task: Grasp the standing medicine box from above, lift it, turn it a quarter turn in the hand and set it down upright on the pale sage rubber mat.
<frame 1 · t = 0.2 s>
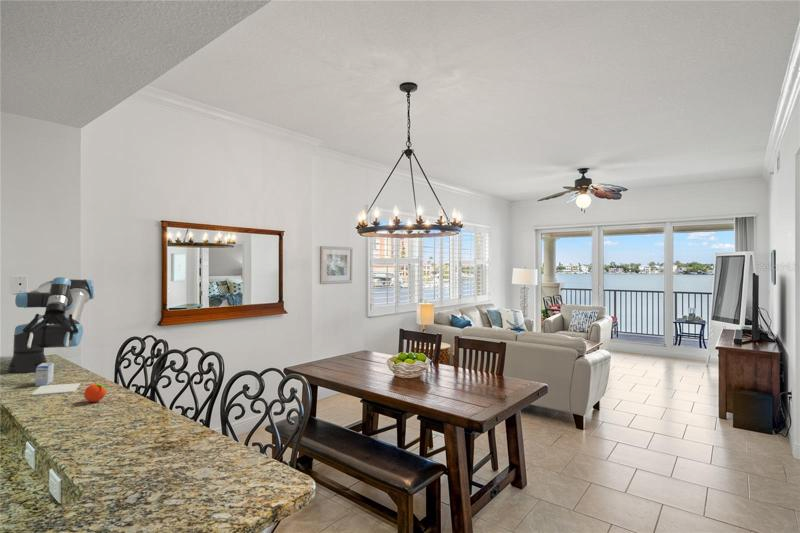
hand: (48, 346, 195), 15 cm above the kitchen counter, tool tilted 35°, fingers open, 13 cm apart
medicine box: (44, 384, 189), on the kitchen counter
mat: (57, 389, 181), on the kitchen counter
clementine: (95, 402, 167), on the kitchen counter
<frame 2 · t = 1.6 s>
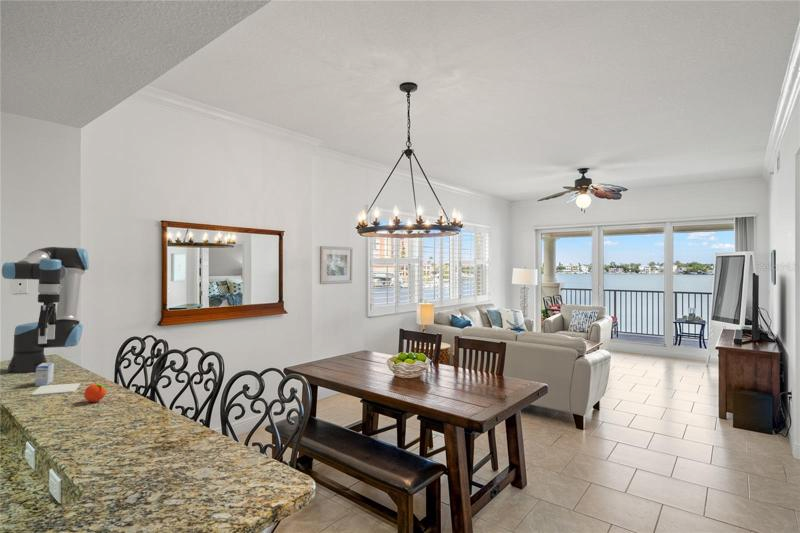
hand: (46, 341, 190), 19 cm above the kitchen counter, tool pointing down, fingers open, 13 cm apart
nothing on the kitchen counter moved.
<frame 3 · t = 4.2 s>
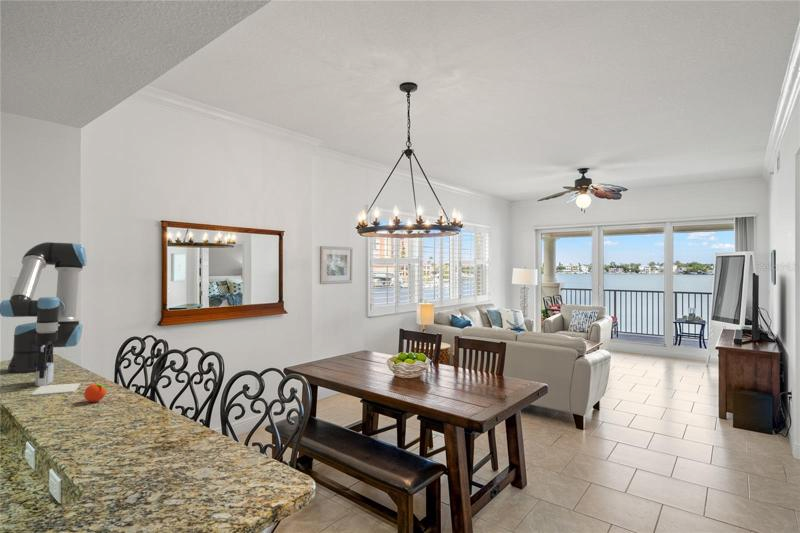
hand: (44, 383, 189), 0 cm above the kitchen counter, tool pointing down, fingers closed on medicine box, 8 cm apart
medicine box: (44, 384, 189), on the kitchen counter, touching gripper
everything else where it was.
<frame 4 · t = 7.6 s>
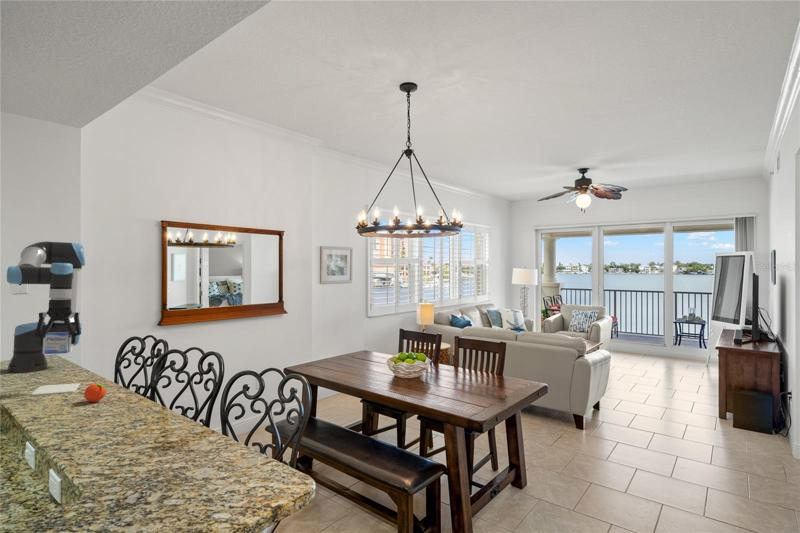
hand: (57, 352, 182), 16 cm above the kitchen counter, tool pointing down, fingers closed on medicine box, 8 cm apart
medicine box: (57, 353, 182), point 15 cm above the kitchen counter, touching gripper
everything else where it was.
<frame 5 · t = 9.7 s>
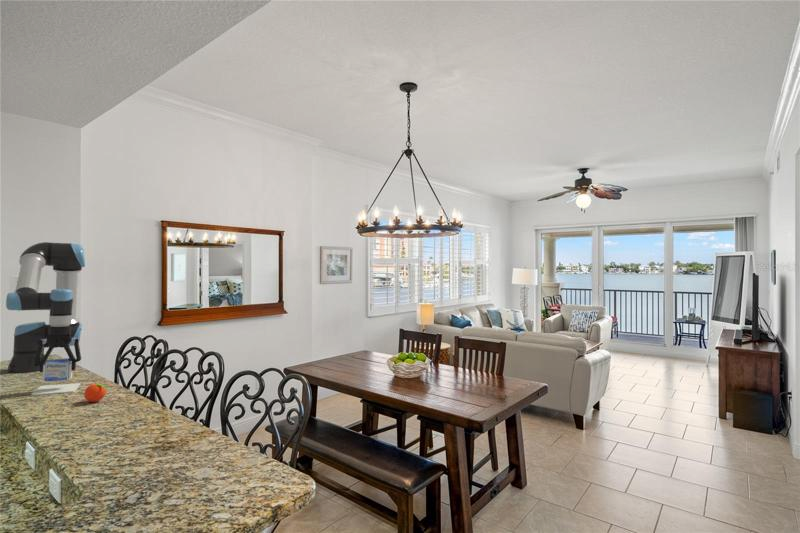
hand: (57, 378, 181), 5 cm above the kitchen counter, tool pointing down, fingers closed on medicine box, 8 cm apart
medicine box: (57, 380, 181), point 4 cm above the kitchen counter, touching gripper
everything else where it was.
when the fingers open (2 cm above the kitchen counter, at t = 11.2 s): medicine box stays where it is, resting on mat.
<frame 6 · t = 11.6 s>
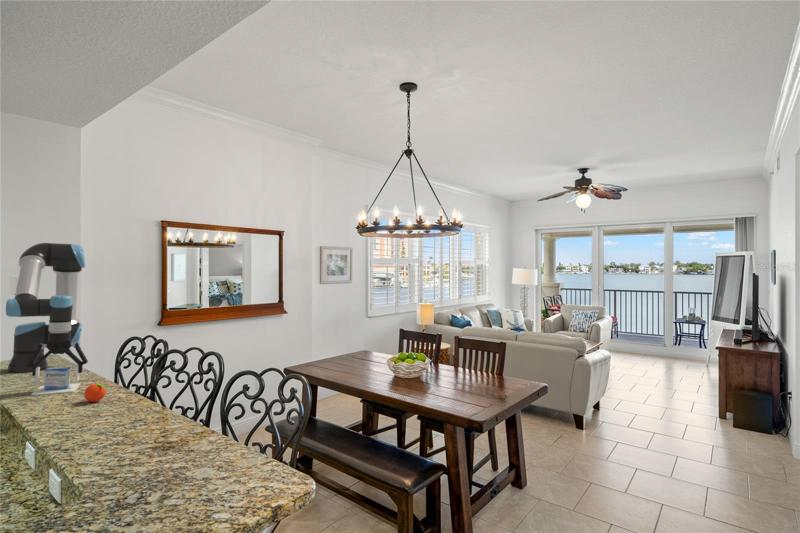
hand: (57, 382, 181), 3 cm above the kitchen counter, tool pointing down, fingers open, 13 cm apart
medicine box: (57, 388, 181), resting on mat
everything else where it was.
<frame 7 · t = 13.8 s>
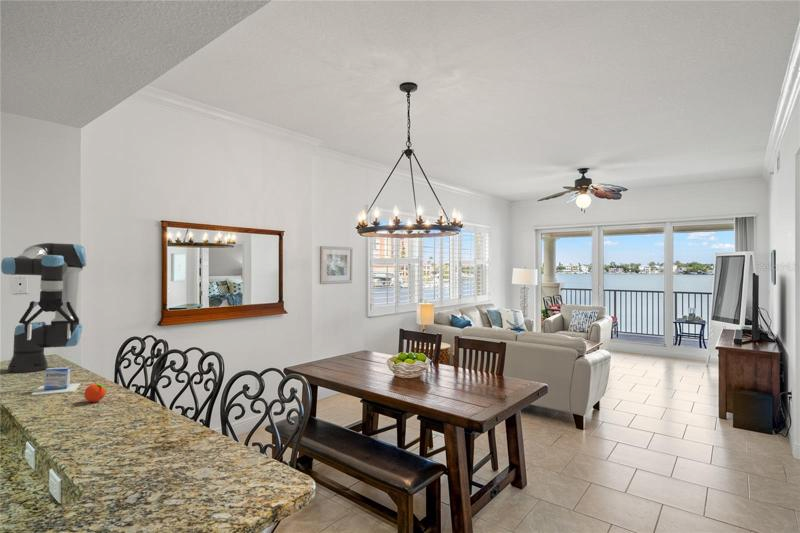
hand: (49, 339, 186), 21 cm above the kitchen counter, tool pointing down, fingers open, 13 cm apart
nothing on the kitchen counter moved.
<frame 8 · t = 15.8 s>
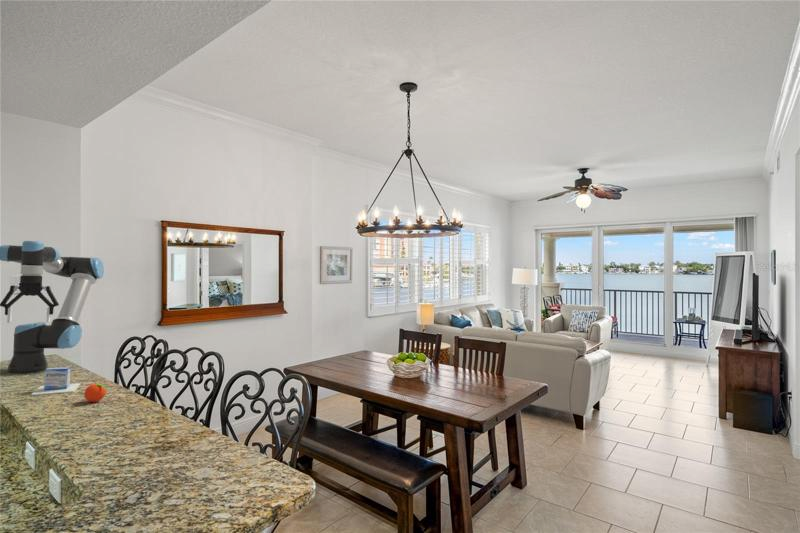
hand: (29, 322, 192), 27 cm above the kitchen counter, tool pointing down, fingers open, 13 cm apart
nothing on the kitchen counter moved.
at the end: medicine box inside the target area (0.1 cm from its centre), resting on mat; medicine box tilted 0°; medicine box touching mat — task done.
